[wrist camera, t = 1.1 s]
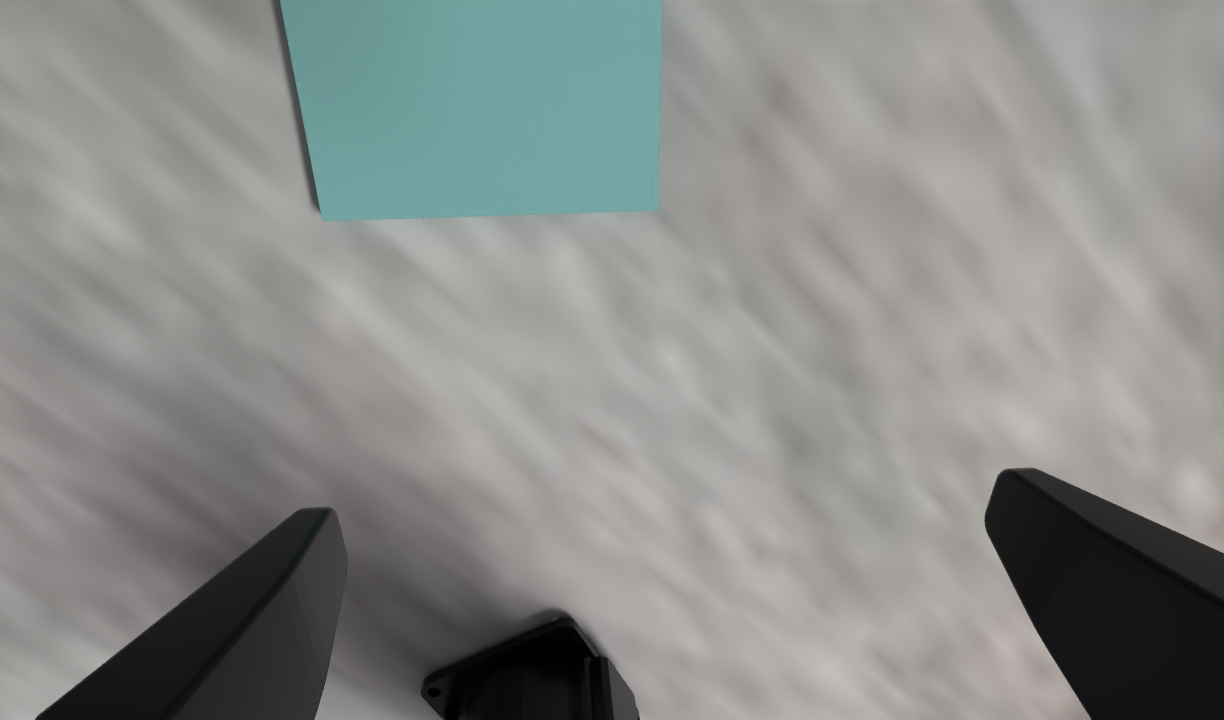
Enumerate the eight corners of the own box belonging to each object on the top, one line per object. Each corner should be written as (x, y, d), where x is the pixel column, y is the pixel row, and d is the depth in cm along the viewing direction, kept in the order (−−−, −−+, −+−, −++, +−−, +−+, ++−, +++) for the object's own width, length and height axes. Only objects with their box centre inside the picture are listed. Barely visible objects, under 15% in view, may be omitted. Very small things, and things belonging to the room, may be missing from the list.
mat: (655, 207, 19) (657, 210, 19) (326, 217, 18) (322, 221, 18) (662, -193, 15) (665, -199, 15) (247, -201, 14) (240, -207, 14)
